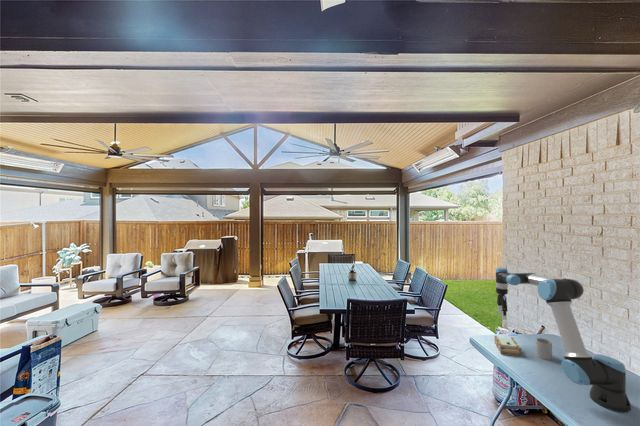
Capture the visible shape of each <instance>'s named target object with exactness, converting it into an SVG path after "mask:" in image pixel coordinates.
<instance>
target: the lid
mask: <svg viewBox="0 0 640 426" xmlns="http://www.w3.org/2000/svg"><path fill="white" fill-rule="evenodd" d="M497 338H498V339H499V341H500V342H501V344H502V346H503V348H511V349H517V346H516V345H515V343H514V342H513V341H512V339H511V338H510V337H509V338H507V337H500V336H497Z"/></svg>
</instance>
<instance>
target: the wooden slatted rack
mask: <svg viewBox="0 0 640 426" xmlns="http://www.w3.org/2000/svg"><path fill="white" fill-rule="evenodd" d="M497 337H498V336H497V335H494V345H495V344H496V345H495V347H496V348H497V350H498V352H499V351H500V352H499V353H500V354H501V355H504V356H505V355H506V356H514V357H521V356H522V354H521V353H522V351H521V350H522V349H521V348H522V347H520V345H519V343H518V342H517V341H516V340H515V338H514V337H510V339H512V341H513V342H514V343H515V345H516V346H517V349H511V348H503V346H502V344H501V342H500V341H499V339H498V338H497Z"/></svg>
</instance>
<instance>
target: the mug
mask: <svg viewBox="0 0 640 426" xmlns="http://www.w3.org/2000/svg"><path fill="white" fill-rule="evenodd" d="M535 341H536V342H535V345H536V347H535V348H536V349H535V351H536V353H535V354H536V356H537V357H538V358H539V359H542V360H545V361H551V360H552V359H553V342H552V341H551V340H549V339H547V338H541V337H540V338H536V340H535Z"/></svg>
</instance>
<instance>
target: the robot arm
mask: <svg viewBox="0 0 640 426" xmlns="http://www.w3.org/2000/svg"><path fill="white" fill-rule="evenodd" d="M521 284H522V285H523V284H525V285H531V286H532V285H533V286H535V287H536V286H537V293H538V296H539V297H540V299H542V300H544V301H545V302H546V304H547V306H550V308H551V311H552V314H553V317H554V319H555V323H556V326H557V329H558V332H559V335H560V338H561V341H562V344H563V347H564V351H565V353H564V354H563V358H564V360H562V361H561V365H560V366H561V369H562V371H563V373H564V375H565V376H566V378H567V379H569V380H570V381H571V382H572V383H574V384H576V385H579V386H591V387H590V389H589V397H590V399H591V400H592V401H593V402H594V403H596V404H597V405H600V406H601V407H602V408H605V409H608V410H611V411H615V412H617V413H618V412H619V413H629V412H631V410H632V404H631V402H630V399H629V397H628V395H627V393H626V390H627V387H626V383H627V382H626V379H627V377H626V376H627V375H626V374H627V371H626V366H625V365H624V363H623V362H621V361H620V360H618V359H616V358H613V357H611V356H607V355H605V354H598V353H597V354H596V353H595V354H593V356H592V355H591V354H589V353H588V352H587V350H586V347H585V345H584V341H583V338H582V336H581V333H580V330H579V327H578V325H577V321H576V319H575V316H574V314H573V310H572V308H571V305H572V303H573V301H572V300H577V299H579V298H581V297H582V296H583V294H584V292H585V291H584V286H583V285H582V284H581V283H580V282H579V281H578V280H576V279H572V278H571V279H570V278H555V277H550V276H546V275H545V276H544V275H539V274H537V273H535V272H524V273H521V272H520V273H519V272H517V273H512V272H509V271H508V269H507V268H506V267H502V266H501V267H496V268H495V292H496V294H497V300H496V303H497V314H498V315H501V317H502V318H501V320H504V321H505V320H506V321H507V320H508V317H507V316H508V315H507V312H508V304H507V303H508V301H507V299H508V298H507V297H506V295H507V294H508V293H509V292H508V290H509V289H508V286H509V285H510V286H511V285H512V286H518V285H521Z"/></svg>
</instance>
